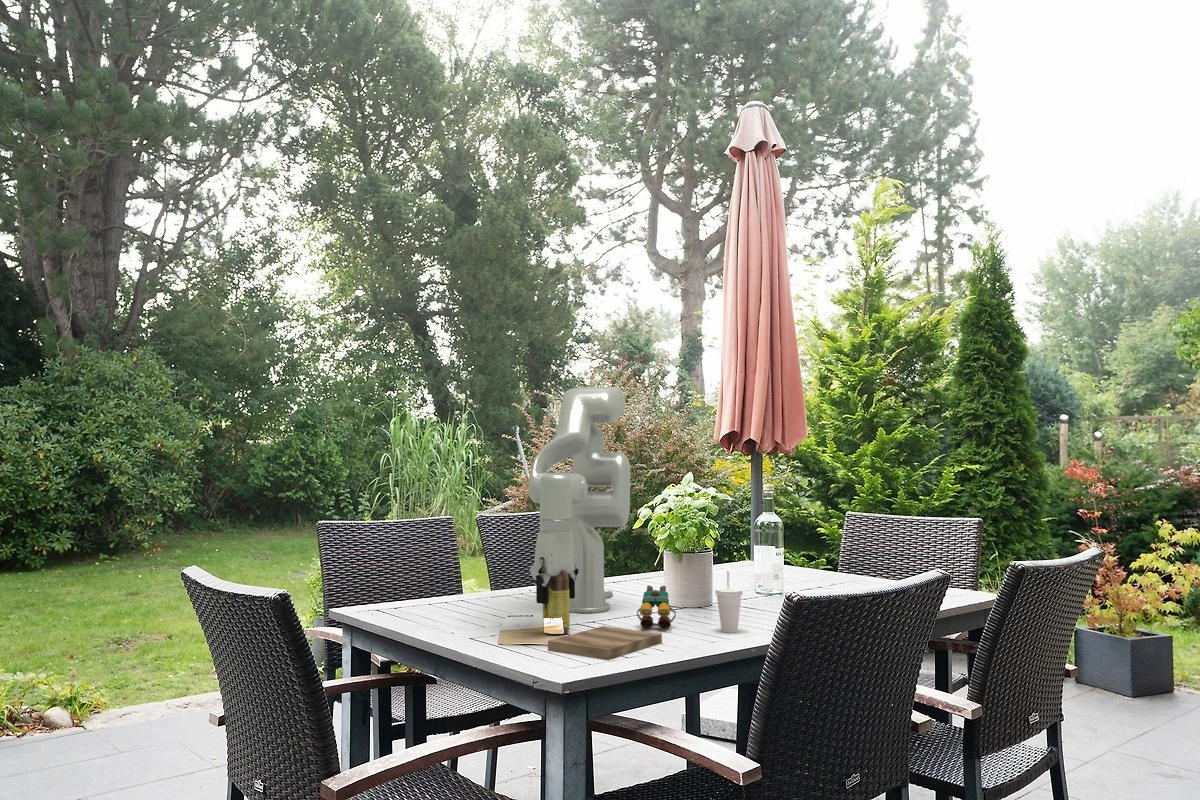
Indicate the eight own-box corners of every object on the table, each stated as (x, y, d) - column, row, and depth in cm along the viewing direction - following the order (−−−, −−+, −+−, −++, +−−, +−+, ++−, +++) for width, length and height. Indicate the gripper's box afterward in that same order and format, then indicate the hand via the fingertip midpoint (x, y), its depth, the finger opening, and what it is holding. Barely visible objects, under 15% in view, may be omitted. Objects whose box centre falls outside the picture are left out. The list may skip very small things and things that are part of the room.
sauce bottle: (544, 630, 214) (543, 546, 215) (570, 630, 214) (570, 546, 215) (541, 636, 207) (541, 549, 208) (568, 636, 207) (568, 549, 208)
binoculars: (636, 636, 216) (634, 605, 211) (638, 610, 224) (636, 579, 219) (675, 637, 215) (674, 605, 210) (676, 611, 223) (675, 579, 218)
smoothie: (713, 633, 210) (712, 572, 210) (719, 627, 216) (718, 568, 216) (740, 634, 207) (739, 573, 208) (745, 629, 213) (744, 569, 214)
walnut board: (603, 634, 208) (603, 625, 209) (661, 642, 199) (661, 633, 199) (548, 650, 192) (548, 640, 193) (608, 659, 183) (608, 649, 183)
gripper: (566, 524, 221) (566, 594, 220) (519, 528, 207) (519, 604, 206) (590, 525, 217) (591, 597, 215) (544, 530, 203) (544, 607, 202)
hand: (555, 600), depth 211 cm, fingers open, 9 cm apart
